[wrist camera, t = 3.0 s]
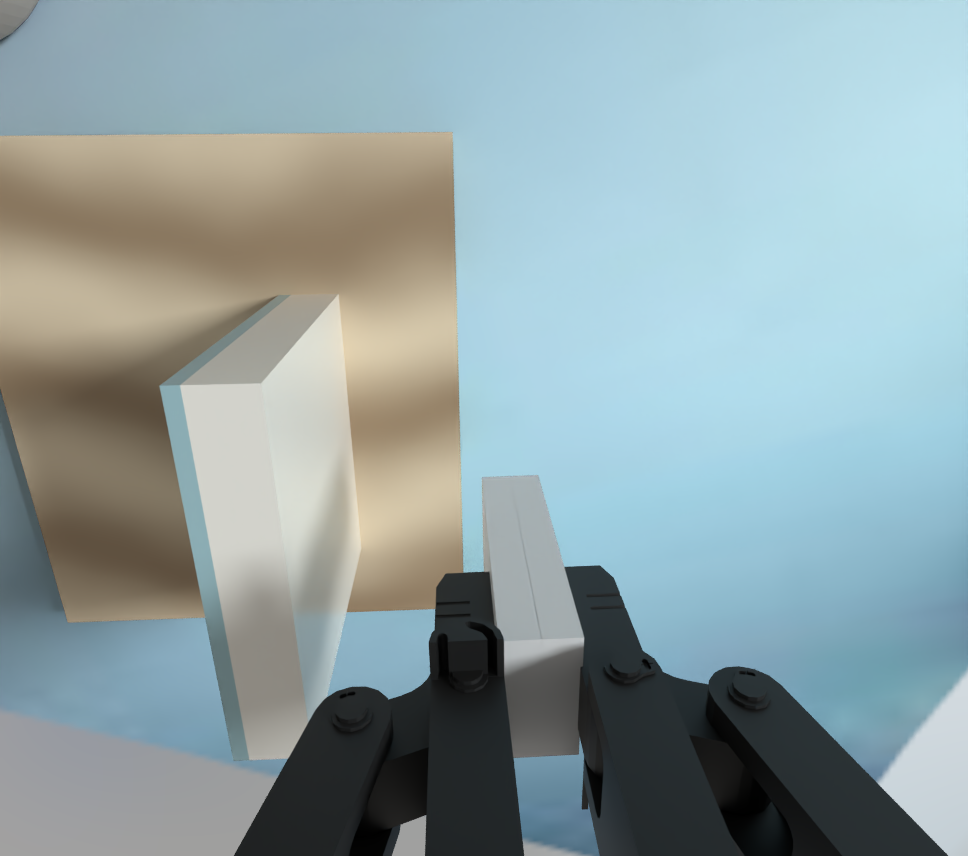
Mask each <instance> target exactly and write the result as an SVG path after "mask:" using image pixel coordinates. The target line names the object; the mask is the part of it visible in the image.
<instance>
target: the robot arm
mask: <svg viewBox="0 0 968 856" xmlns="http://www.w3.org/2000/svg"><path fill="white" fill-rule="evenodd" d="M482 506H483V555H484V572H469V573H446V574H445V575H444V577H443V578H442V580H441V581H440V582H439V584H438V585H437V587H436V607H435V630H434V631H433V632H432V634H431V637H430V640H429V656H430V673H431V674H430V676H429V677H428V679H427V680H426V681H425V682H424V683H423V684H422V685H421V686H419V687H418V688H416V689H415V690H413V691H412V692H409V693H407V694H404V695H402V696H399V697H396V698H392V699H389V700H388V698H387V697H386V696H384V695H383V694H382V693H381V692H380V691H378V690H375V689H372V688H369V687H349V688H346V689H343V690H339V691H336V692H335V693H333V694H332V695H330V696H329V697H327V698H325V699H324V700H323V701H322V702H321V704H320V705H319V706H318V707H317V708H316V710H315V711H314V713H313V715H312V717H311V719H310V720H309V722H308V724H307V726H306V728H305V729H304V731H303V733H302V735H301V737H300V738H299V740H298V742H297V744H296V745H295V747H294V749H293V751H292V753H291V754H290V756H289V758H288V760H287V762H286V763H285V765H284V767H283V769H282V771H281V772H280V774H279V776H278V778H277V779H276V781H275V783H274V785H273V787H272V789H271V790H270V792H269V794H268V796H267V798H266V799H265V801H264V803H263V805H262V806H261V808H260V810H259V812H258V813H257V815H256V817H255V819H254V821H253V823H252V824H251V826H250V828H249V830H248V831H247V833H246V835H245V837H244V839H243V840H242V842H241V844H240V846H239V847H238V849H237V851H236V853H235V855H234V856H392V853H393V850H394V847H395V844H396V841H397V838H398V835H399V831H400V825H401V824H403V823H406V822H409V821H411V820H414V819H416V818H419V817H422V816H424V815H426V845H425V856H524V850H523V841H522V832H521V823H520V814H519V805H518V796H517V787H516V778H515V769H514V759H513V758H520V757H539V756H558V755H578V754H579V738H580V740H581V744H582V748H583V753H584V771H583V790H582V809H588V803H589V807H590V812H591V817H592V821H593V826H594V831H595V835H596V840H597V845H598V849H599V854H600V856H948V855H947V854H946V853H945V852H944V851H943V850H942V849H941V848H940V847H939V846H938V845H937V844H936V843H935V842H934V841H933V840H932V839H931V838H930V837H929V836H928V835H927V834H926V833H925V832H924V831H923V829H922V828H921V827H920V826H919V825H917V823H916V822H915V821H914V820H913V819H912V818H911V817H910V816H909V815H908V814H907V813H906V812H905V811H904V810H903V809H902V808H901V807H900V806H899V805H898V804H897V803H896V802H895V801H894V800H893V799H892V798H891V797H890V796H889V795H888V794H887V793H886V792H885V791H884V790H883V789H882V788H881V787H880V786H879V785H878V784H877V783H876V781H875V780H874V779H873V778H872V777H871V776H870V775H869V774H868V773H867V772H866V771H865V770H864V769H863V768H862V767H861V766H860V765H859V764H858V763H857V762H856V761H855V760H854V759H853V758H852V757H851V756H850V755H849V754H848V753H847V752H846V751H845V750H844V749H843V748H842V747H841V746H840V745H839V744H838V743H837V742H836V741H835V740H834V739H833V738H832V737H831V736H830V735H829V734H828V732H827V731H826V730H825V729H824V728H823V727H822V726H821V725H820V724H819V723H818V722H817V721H816V720H815V719H814V718H813V717H812V716H811V715H810V714H809V713H808V712H807V711H806V710H805V709H804V708H803V707H802V706H801V705H800V704H799V703H798V702H797V701H796V700H795V699H794V698H793V697H792V696H791V695H790V694H789V693H788V692H787V691H786V690H785V689H784V688H783V687H782V686H781V685H780V684H779V683H778V682H776V681H775V680H774V679H773V678H771V677H770V676H768V675H766V674H764V673H762V672H759V671H757V670H755V669H750V668H745V667H726V668H723V669H721V670H719V671H717V672H715V673H714V674H713V676H712V677H711V678H710V680H709V685H708V684H703V683H698V682H692V681H687V680H683V679H679V678H676V677H673V676H671V675H668V674H666V673H664V672H662V669H661V668H660V666H659V665H658V663H657V662H656V660H655V659H654V658H652V657H651V656H649V655H648V654H647V653H645V652H644V651H643V650H642V648H641V645H640V643H639V640H638V638H637V635H636V633H635V630H634V628H633V625H632V623H631V620H630V618H629V615H628V613H627V610H626V608H625V605H624V603H623V600H622V597H621V596H620V592H619V590H618V587H617V585H616V582H615V580H614V578H613V577H612V576H611V575H610V574H609V573H608V572H606V571H605V570H604V569H603V568H602V567H601V566H576V567H564V565H563V561H562V558H561V554H560V550H559V547H558V543H557V540H556V536H555V533H554V529H553V526H552V522H551V519H550V515H549V512H548V508H547V505H546V501H545V498H544V494H543V491H542V487H541V484H540V480H539V477H538V475H529V476H501V477H482Z"/></svg>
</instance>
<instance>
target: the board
mask: <svg viewBox="0 0 968 856" xmlns="http://www.w3.org/2000/svg"><path fill="white" fill-rule="evenodd" d="M311 294H339V305H340V316H341V327H342V339H343V350H344V361H345V372H346V384H347V395H348V406H349V417H350V428H351V440H352V451H353V462H354V473H355V484H356V496H357V507H358V518H359V529H360V541H361V551H360V556H359V560H358V564H357V569H356V573H355V577H354V582H353V586H352V590H351V595H350V599H349V603H348V608H347V612H365V611H391V610H418V609H435V607H436V587H437V585H438V584H439V582H440V581H441V580H442V578H443V577H444V575H445V574H446V573H463V543H462V502H461V462H460V421H459V381H458V340H457V299H456V259H455V218H454V178H453V137H452V132H415V133H293V134H172V135H50V136H0V390H1V393H2V397H3V400H4V404H5V407H6V410H7V414H8V417H9V421H10V424H11V428H12V431H13V435H14V438H15V442H16V445H17V448H18V452H19V455H20V459H21V462H22V466H23V469H24V473H25V476H26V480H27V483H28V486H29V490H30V493H31V497H32V500H33V504H34V507H35V511H36V514H37V518H38V521H39V524H40V528H41V531H42V535H43V538H44V542H45V545H46V549H47V552H48V556H49V559H50V563H51V566H52V569H53V573H54V576H55V580H56V583H57V587H58V590H59V594H60V597H61V601H62V604H63V607H64V611H65V614H66V618H67V621H68V623H70V622H97V621H124V620H151V619H177V618H204V617H205V614H204V609H203V604H202V599H201V594H200V589H199V584H198V579H197V573H196V568H195V563H194V558H193V553H192V548H191V543H190V538H189V533H188V528H187V523H186V518H185V513H184V507H183V502H182V497H181V492H180V487H179V482H178V477H177V472H176V467H175V462H174V457H173V452H172V447H171V441H170V436H169V431H168V426H167V421H166V416H165V411H164V406H163V401H162V396H161V391H160V385H161V384H162V383H164V382H165V381H166V380H168V379H169V378H170V377H172V376H173V375H174V374H176V373H177V372H178V371H180V370H181V369H182V368H184V367H185V366H186V365H187V364H189V363H190V362H191V361H193V360H194V359H195V358H197V357H198V356H199V355H201V354H202V353H203V352H205V351H206V350H207V349H209V348H210V347H211V346H213V345H214V344H215V343H216V342H218V341H219V340H220V339H222V338H223V337H224V336H226V335H227V334H228V333H230V332H231V331H232V330H234V329H235V328H236V327H238V326H239V325H240V324H242V323H243V322H244V321H245V320H247V319H248V318H249V317H251V316H252V315H253V314H255V313H256V312H257V311H259V310H260V309H261V308H263V307H264V306H265V305H267V304H268V303H269V302H271V301H272V300H273V299H274V298H276V297H277V296H278V295H311Z"/></svg>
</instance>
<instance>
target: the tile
mask: <svg viewBox="0 0 968 856" xmlns="http://www.w3.org/2000/svg"><path fill="white" fill-rule="evenodd" d="M160 391H161V396H162V401H163V406H164V411H165V416H166V421H167V426H168V431H169V436H170V441H171V447H172V452H173V457H174V462H175V467H176V472H177V477H178V482H179V487H180V492H181V497H182V502H183V507H184V513H185V518H186V523H187V528H188V533H189V538H190V543H191V548H192V553H193V558H194V563H195V568H196V573H197V579H198V584H199V589H200V594H201V599H202V604H203V609H204V614H205V619H206V624H207V629H208V634H209V639H210V644H211V650H212V655H213V660H214V665H215V670H216V675H217V680H218V685H219V690H220V695H221V700H222V705H223V710H224V716H225V721H226V726H227V731H228V736H229V741H230V746H231V751H232V756H233V761H243V760H265V759H286V758H289V756H290V754H291V753H292V751H293V749H294V747H295V745H296V744H297V742H298V740H299V738H300V737H301V735H302V733H303V731H304V729H305V728H306V726H307V724H308V722H309V720H310V719H311V717H312V715H313V713H314V711H315V710H316V708H317V707H318V706H319V705H320V704H321V702H322V701H323V700H324V699H325V698H327V694H328V690H329V685H330V681H331V677H332V672H333V668H334V664H335V659H336V655H337V651H338V646H339V642H340V638H341V634H342V629H343V625H344V621H345V616H346V612H347V608H348V603H349V599H350V595H351V590H352V586H353V582H354V577H355V573H356V569H357V564H358V560H359V556H360V551H361V541H360V529H359V518H358V507H357V496H356V484H355V473H354V462H353V451H352V440H351V428H350V417H349V406H348V395H347V384H346V372H345V361H344V350H343V339H342V327H341V316H340V305H339V294H311V295H278V296H277V297H276V298H274V299H273V300H272V301H271V302H269V303H268V304H267V305H265V306H264V307H263V308H261V309H260V310H259V311H257V312H256V313H255V314H253V315H252V316H251V317H249V318H248V319H247V320H245V321H244V322H243V323H242V324H240V325H239V326H238V327H236V328H235V329H234V330H232V331H231V332H230V333H228V334H227V335H226V336H224V337H223V338H222V339H220V340H219V341H218V342H216V343H215V344H214V345H213V346H211V347H210V348H209V349H207V350H206V351H205V352H203V353H202V354H201V355H199V356H198V357H197V358H195V359H194V360H193V361H191V362H190V363H189V364H187V365H186V366H185V367H184V368H182V369H181V370H180V371H178V372H177V373H176V374H174V375H173V376H172V377H170V378H169V379H168V380H166V381H165V382H164V383H162V384H161V385H160Z"/></svg>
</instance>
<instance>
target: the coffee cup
mask: <svg viewBox="0 0 968 856" xmlns="http://www.w3.org/2000/svg"><path fill="white" fill-rule="evenodd" d="M38 1H39V0H0V40H1V39H3V38H4V37H6V36H8V35H10V34H12V33H13V32H14V31H15V30H16V29H17V28H18V27H19V26H20V25H21V24H22V23H23V22H24V21H25V20H26V19H27V18H28V17H29V15H30V14H31V12H32V11H33V9H34V8H35V6H36V4H37V3H38Z"/></svg>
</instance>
